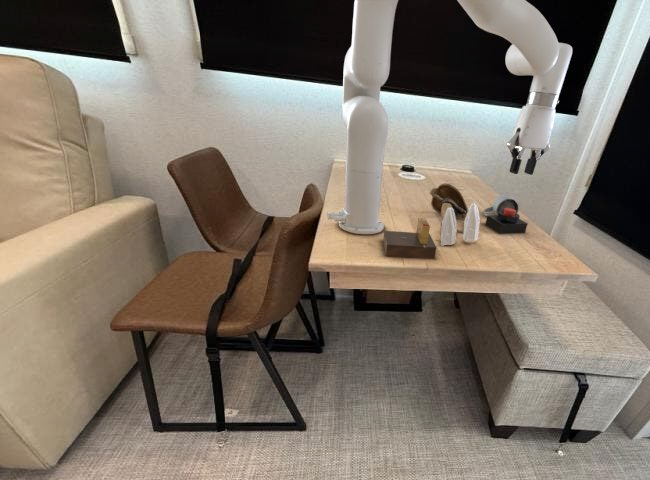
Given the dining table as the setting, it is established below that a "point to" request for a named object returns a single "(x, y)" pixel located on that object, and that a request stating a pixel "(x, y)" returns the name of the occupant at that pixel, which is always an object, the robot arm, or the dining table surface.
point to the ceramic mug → (502, 205)
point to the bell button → (509, 212)
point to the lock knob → (422, 230)
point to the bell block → (506, 223)
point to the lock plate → (407, 245)
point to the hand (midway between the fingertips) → (521, 172)
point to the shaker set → (469, 226)
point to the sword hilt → (448, 201)
